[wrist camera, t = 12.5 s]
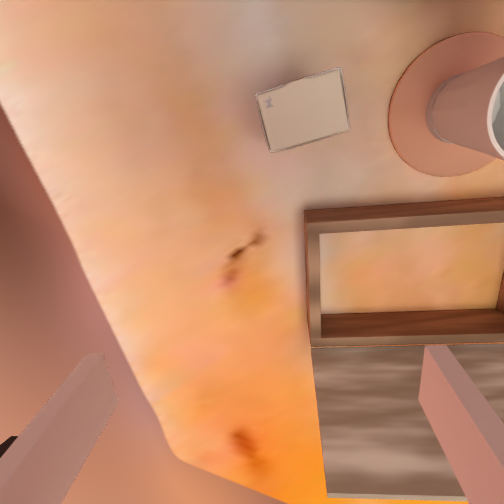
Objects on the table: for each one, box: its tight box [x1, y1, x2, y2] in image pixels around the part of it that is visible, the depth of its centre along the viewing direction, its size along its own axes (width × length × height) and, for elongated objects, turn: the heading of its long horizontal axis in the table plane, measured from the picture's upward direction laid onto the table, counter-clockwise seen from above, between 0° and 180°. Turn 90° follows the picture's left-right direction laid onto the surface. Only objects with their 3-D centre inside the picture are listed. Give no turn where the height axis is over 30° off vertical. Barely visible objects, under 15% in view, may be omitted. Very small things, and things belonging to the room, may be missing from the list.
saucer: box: [388, 32, 504, 177], centre depth 32 cm, size 13×13×1 cm
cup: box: [426, 57, 504, 160], centre depth 27 cm, size 8×8×12 cm
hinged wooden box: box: [304, 197, 504, 501], centre depth 31 cm, size 19×24×20 cm
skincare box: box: [255, 67, 350, 153], centre depth 29 cm, size 6×4×12 cm
